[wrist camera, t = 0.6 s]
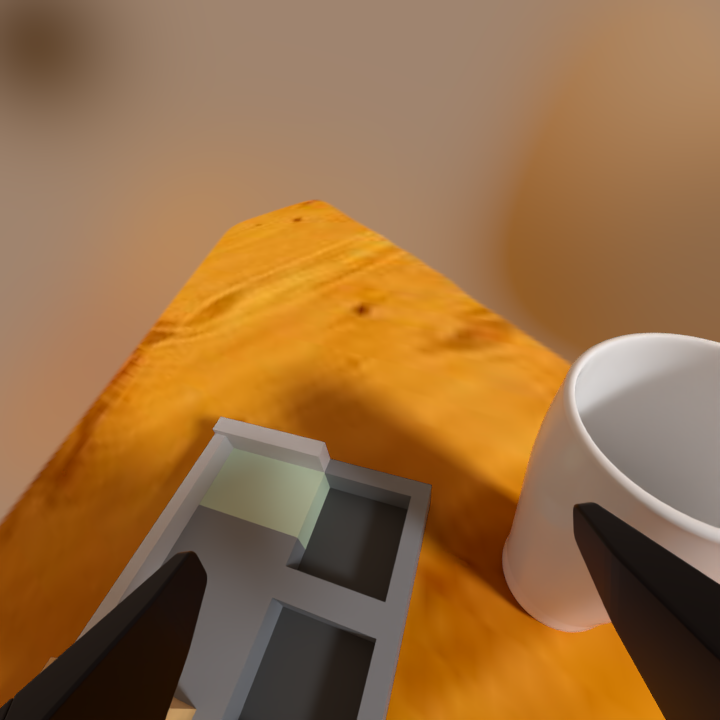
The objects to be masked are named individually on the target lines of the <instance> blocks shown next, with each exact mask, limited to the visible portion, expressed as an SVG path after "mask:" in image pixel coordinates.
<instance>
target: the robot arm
mask: <svg viewBox="0 0 720 720" xmlns="http://www.w3.org/2000/svg"><path fill="white" fill-rule="evenodd" d="M573 532H574V537H575V541H576V543H577V546H578V548H579V550H580V553H581V555H582V557H583V559H584V562H585V564H586V566H587V568H588V571H589V573H590V575H591V578H592V580H593V582H594V584H595V587H596V589H597V591H598V594H599V596H600V598H601V600H602V603H603V605H604V607H605V609H606V611H607V614H608V616H609V618H610V620H611V622H612V624H613V626H614V628H615V629H616V631H617V633H618V635H619V637H620V639H621V640H622V642H623V644H624V646H625V648H626V649H627V651H628V653H629V655H630V656H631V658H632V660H633V662H634V664H635V665H636V667H637V669H638V671H639V673H640V674H641V676H642V678H643V680H644V682H645V683H646V685H647V687H648V689H649V690H650V692H651V694H652V696H653V698H654V699H655V701H656V703H657V705H658V707H659V708H660V710H661V712H662V714H663V716H664V717H665V719H666V720H720V584H719V583H717V582H716V581H714V580H713V579H711V578H710V577H708V576H707V575H705V574H704V573H702V572H700V571H699V570H697V569H696V568H694V567H693V566H691V565H690V564H688V563H687V562H685V561H684V560H682V559H681V558H679V557H678V556H676V555H675V554H673V553H672V552H670V551H669V550H667V549H665V548H664V547H662V546H661V545H659V544H658V543H656V542H655V541H653V540H652V539H650V538H649V537H647V536H646V535H644V534H643V533H641V532H640V531H638V530H637V529H635V528H634V527H632V526H630V525H629V524H627V523H626V522H624V521H623V520H621V519H620V518H618V517H617V516H615V515H614V514H612V513H611V512H609V511H608V510H606V509H605V508H603V507H602V506H600V505H599V504H597V503H594V502H586V503H578V504H575V505H574V507H573ZM206 586H207V573H206V571H205V569H204V567H203V565H202V563H201V561H200V559H199V557H198V555H197V554H196V553H195V552H194V551H186V552H179V553H177V554H175V555H174V556H173V557H172V558H171V559H169V560H168V561H167V562H166V563H165V564H164V565H163V566H161V567H160V568H159V569H158V570H157V571H156V572H155V573H154V574H152V575H151V576H150V577H149V578H148V579H147V580H146V581H144V582H143V583H142V584H141V585H140V586H139V587H138V588H136V589H135V590H134V591H133V592H132V593H131V594H130V595H128V596H127V597H126V598H125V599H124V600H123V601H122V602H121V603H119V604H118V605H117V606H116V607H115V608H114V609H113V610H111V611H110V612H109V613H108V614H107V615H106V616H105V617H103V618H102V619H101V620H100V621H99V622H98V623H97V624H96V625H94V626H93V627H92V628H91V629H90V630H89V631H88V632H86V633H85V634H84V635H83V636H82V637H81V638H80V639H78V640H77V641H76V642H75V643H74V644H73V645H72V646H70V647H69V648H68V649H67V650H66V651H65V652H64V653H63V654H61V655H60V656H59V657H58V658H57V659H56V660H55V661H53V662H52V663H51V664H50V665H49V666H48V667H47V668H45V669H44V670H43V671H42V672H41V673H40V674H39V675H37V676H36V677H35V678H34V679H33V680H32V681H31V682H30V683H28V684H27V685H26V686H25V687H24V688H23V689H22V690H20V691H19V692H18V693H17V694H16V695H15V697H14V698H12V699H10V700H9V701H8V702H7V703H6V704H4V705H3V706H2V707H1V708H0V720H165V719H166V717H167V714H168V711H169V708H170V705H171V702H172V700H173V697H174V694H175V691H176V688H177V685H178V682H179V680H180V677H181V674H182V671H183V668H184V665H185V662H186V659H187V656H188V653H189V650H190V646H191V643H192V639H193V635H194V632H195V628H196V624H197V620H198V616H199V612H200V609H201V605H202V601H203V597H204V593H205V589H206Z"/></svg>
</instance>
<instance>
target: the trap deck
mask: <svg viewBox="0 0 720 720" xmlns="http://www.w3.org/2000/svg"><path fill="white" fill-rule="evenodd" d="M213 431H214V432H215V435H214V436H213V438H212V439H211V441H210V442H209V444H208V445H207V447H206V448H205V450H204V451H203V453H202V454H201V456H200V457H199V458H198V460H197V461H196V463H195V464H194V466H193V467H192V469H191V470H190V472H189V473H188V475H187V476H186V478H185V479H184V481H183V482H182V484H181V485H180V487H179V488H178V490H177V491H176V493H175V494H174V496H173V497H172V499H171V500H170V502H169V503H168V505H167V506H166V508H165V509H164V511H163V512H162V514H161V515H160V517H159V518H158V519H157V521H156V522H155V524H154V525H153V527H152V528H151V530H150V531H149V533H148V534H147V536H146V537H145V539H144V540H143V542H142V543H141V545H140V546H139V548H138V549H137V551H136V552H135V554H134V555H133V557H132V558H131V560H130V561H129V563H128V564H127V566H126V567H125V569H124V570H123V572H122V573H121V575H120V576H119V577H118V579H117V580H116V582H115V583H114V585H113V586H112V588H111V589H110V591H109V592H108V594H107V595H106V597H105V598H104V600H103V601H102V603H101V604H100V606H99V607H98V609H97V610H96V612H95V613H94V615H93V616H92V618H91V619H90V621H89V622H88V624H87V625H86V627H85V628H84V630H83V631H82V633H81V634H80V636H79V637H78V638H77V640H78V639H80V638H81V637H82V636H83V635H84V634H85V633H86V632H88V631H89V630H90V629H91V628H92V627H93V626H94V625H96V624H97V623H98V622H99V621H100V620H101V619H102V618H103V617H105V616H106V615H107V614H108V613H109V612H110V611H111V610H113V609H114V608H115V607H116V606H117V605H118V604H119V603H121V602H122V601H123V600H124V599H125V598H126V597H127V596H128V595H130V594H131V593H132V592H133V591H134V590H135V589H136V588H138V587H139V586H140V585H141V584H142V583H143V582H144V581H146V580H147V579H148V578H149V577H150V576H151V575H152V574H154V573H155V572H156V571H157V570H158V569H159V568H160V567H161V566H163V565H164V564H165V563H166V562H167V561H168V560H169V559H171V558H172V557H173V556H174V555H175V554H177V553H179V552H186V551H194V552H195V553H196V554H197V555H198V557H199V559H200V561H201V563H202V565H203V567H204V569H205V571H206V573H207V586H206V589H205V593H204V597H203V601H202V605H201V609H200V612H199V616H198V620H197V624H196V628H195V632H194V635H193V639H192V643H191V646H190V650H189V653H188V656H187V659H186V662H185V665H184V668H183V671H182V674H181V677H180V680H179V682H178V685H177V688H176V691H175V694H174V697H175V698H176V699H178V700H180V701H182V702H184V703H186V704H188V705H190V706H191V707H193V708H195V709H196V711H195V714H194V716H193V718H192V720H386V715H387V710H388V705H389V700H390V695H391V691H392V686H393V681H394V676H395V671H396V666H397V662H398V657H399V652H400V647H401V642H402V637H403V632H404V628H405V623H406V618H407V613H408V608H409V603H410V599H411V594H412V589H413V584H414V579H415V574H416V569H417V565H418V560H419V555H420V550H421V545H422V540H423V536H424V531H425V526H426V521H427V516H428V511H429V506H430V500H431V488H432V485H430V484H426V483H422V482H418V481H414V480H411V479H407V478H403V477H399V476H395V475H391V474H387V473H384V472H380V471H376V470H372V469H368V468H364V467H360V466H357V465H353V464H349V463H345V462H341V461H337V460H333V459H330V456H329V453H328V450H327V447H326V444H325V442H322V441H318V440H314V439H310V438H306V437H302V436H298V435H293V434H289V433H285V432H281V431H277V430H273V429H269V428H265V427H261V426H257V425H253V424H249V423H245V422H241V421H237V420H233V419H229V418H224V417H220V419H219V420H218V422H217V423H216V425H215V426H214V428H213ZM77 640H76V641H77ZM76 641H75V642H76Z"/></svg>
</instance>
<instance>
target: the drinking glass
mask: <svg viewBox="0 0 720 720" xmlns="http://www.w3.org/2000/svg"><path fill="white" fill-rule="evenodd" d="M586 502H594V503H597V504H599V505H600V506H602V507H603V508H605V509H606V510H608V511H609V512H611V513H612V514H614V515H615V516H617V517H618V518H620V519H621V520H623V521H624V522H626V523H627V524H629V525H630V526H632V527H634V528H635V529H637V530H638V531H640V532H641V533H643V534H644V535H646V536H647V537H649V538H650V539H652V540H653V541H655V542H656V543H658V544H659V545H661V546H662V547H664V548H665V549H667V550H669V551H670V552H672V553H673V554H675V555H676V556H678V557H679V558H681V559H682V560H684V561H685V562H687V563H688V564H690V565H691V566H693V567H694V568H696V569H697V570H699V571H700V572H702V573H704V574H705V575H707V576H708V577H710V578H711V579H713V580H714V581H716V582H717V583H719V584H720V343H718V342H714V341H710V340H706V339H702V338H697V337H692V336H686V335H679V334H669V333H638V334H629V335H623V336H619V337H615V338H611V339H608V340H605V341H603V342H600V343H598V344H596V345H594V346H593V347H591V348H589V349H588V350H587V351H585V352H584V353H582V354H581V355H580V356H579V357H578V358H577V359H576V361H575V362H574V363H573V364H572V366H571V367H570V369H569V371H568V373H567V375H566V377H565V379H564V380H563V382H562V384H561V386H560V388H559V390H558V391H557V393H556V395H555V397H554V399H553V401H552V403H551V405H550V407H549V409H548V411H547V413H546V415H545V417H544V419H543V421H542V424H541V426H540V429H539V431H538V434H537V437H536V439H535V442H534V445H533V448H532V451H531V454H530V457H529V461H528V465H527V468H526V472H525V476H524V480H523V484H522V488H521V492H520V496H519V500H518V504H517V508H516V512H515V516H514V519H513V523H512V527H511V530H510V533H509V535H508V537H507V539H506V541H505V544H504V548H503V553H502V566H503V572H504V576H505V579H506V582H507V584H508V587H509V589H510V591H511V592H512V594H513V596H514V597H515V599H516V600H517V602H518V603H519V604H520V605H521V606H522V608H523V609H524V610H525V611H526V612H527V613H529V614H530V615H531V616H532V617H533V618H535V619H536V620H538V621H539V622H541V623H542V624H544V625H546V626H548V627H551V628H553V629H556V630H560V631H565V632H582V631H587V630H590V629H592V628H594V627H597V626H599V625H602V624H607V623H612V622H611V620H610V618H609V616H608V614H607V611H606V609H605V607H604V605H603V603H602V600H601V598H600V596H599V594H598V591H597V589H596V587H595V584H594V582H593V580H592V578H591V575H590V573H589V571H588V568H587V566H586V564H585V562H584V559H583V557H582V555H581V553H580V550H579V548H578V546H577V543H576V541H575V537H574V532H573V507H574V505H575V504H578V503H586Z"/></svg>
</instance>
